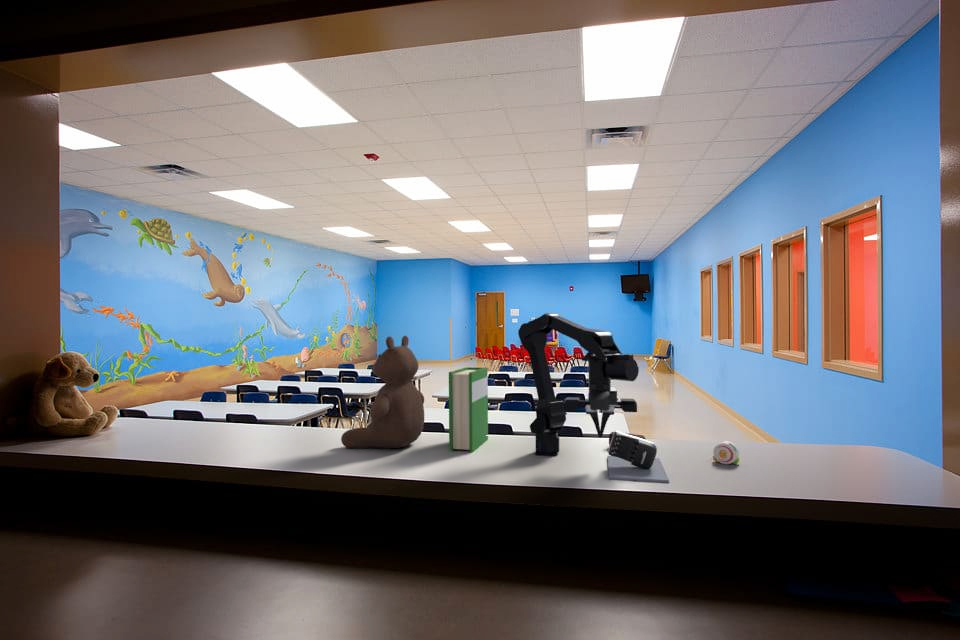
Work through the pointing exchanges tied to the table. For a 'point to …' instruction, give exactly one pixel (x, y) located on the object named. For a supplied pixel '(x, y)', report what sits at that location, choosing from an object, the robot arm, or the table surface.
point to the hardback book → (468, 408)
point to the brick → (625, 433)
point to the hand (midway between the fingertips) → (600, 436)
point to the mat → (635, 471)
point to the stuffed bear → (392, 403)
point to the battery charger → (633, 450)
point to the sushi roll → (726, 453)
